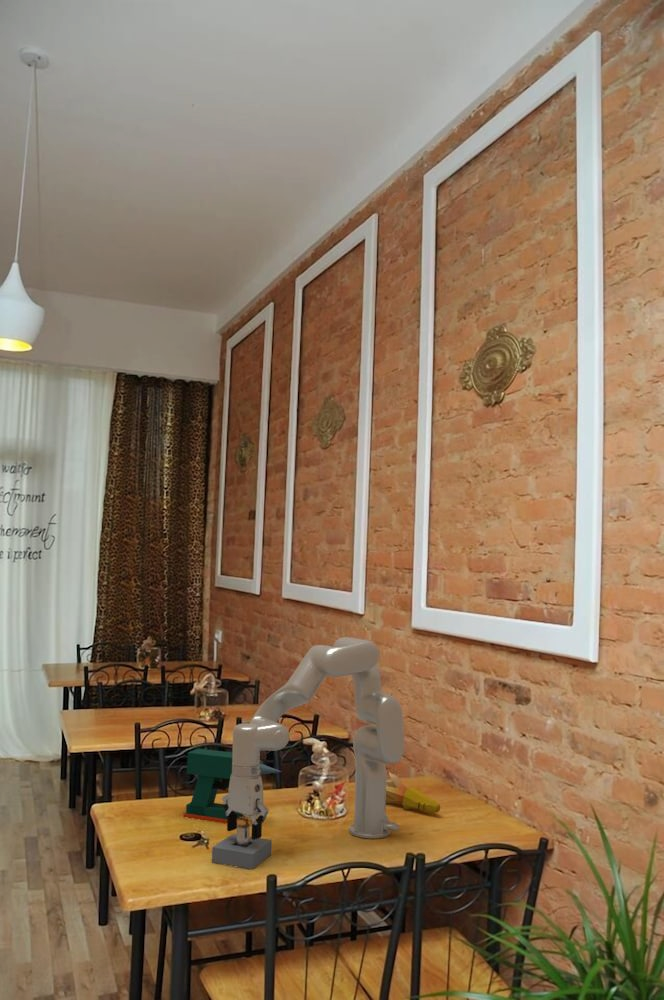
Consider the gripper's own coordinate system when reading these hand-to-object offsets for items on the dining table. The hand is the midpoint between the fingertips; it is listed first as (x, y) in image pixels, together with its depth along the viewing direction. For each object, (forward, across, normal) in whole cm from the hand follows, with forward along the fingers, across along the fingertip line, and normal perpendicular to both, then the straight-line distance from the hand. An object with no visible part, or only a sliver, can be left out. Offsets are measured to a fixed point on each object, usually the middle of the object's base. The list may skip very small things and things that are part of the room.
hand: (244, 834), depth 218 cm
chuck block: (+6, 0, 0) cm, 6 cm away
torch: (+8, -6, -70) cm, 71 cm away
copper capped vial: (+6, 0, 0) cm, 6 cm away
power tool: (+7, +26, -20) cm, 33 cm away
